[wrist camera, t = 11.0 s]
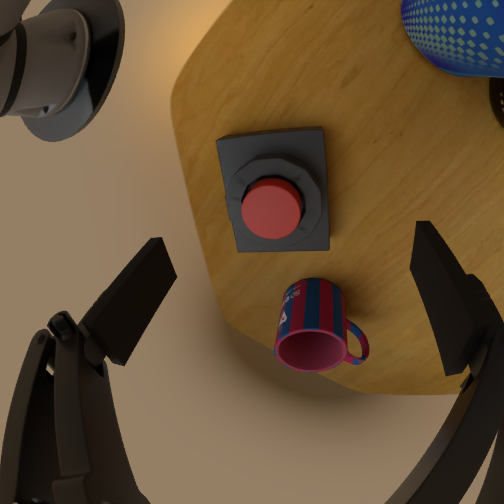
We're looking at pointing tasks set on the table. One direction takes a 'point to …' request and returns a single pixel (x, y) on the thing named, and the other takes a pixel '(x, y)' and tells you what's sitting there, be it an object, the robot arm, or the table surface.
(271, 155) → the button box
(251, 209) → the button
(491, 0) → the beer can
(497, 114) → the supplement bottle
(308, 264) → the table surface
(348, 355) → the mug
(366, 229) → the table surface
